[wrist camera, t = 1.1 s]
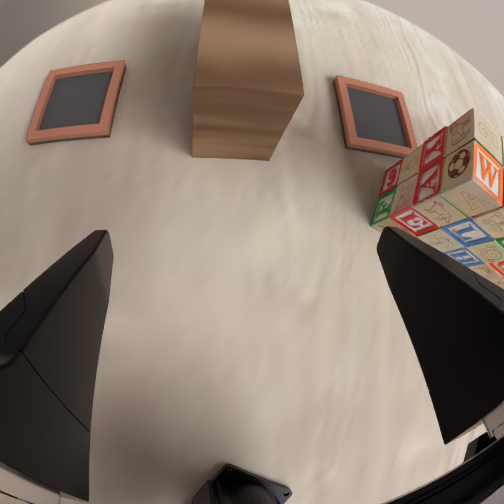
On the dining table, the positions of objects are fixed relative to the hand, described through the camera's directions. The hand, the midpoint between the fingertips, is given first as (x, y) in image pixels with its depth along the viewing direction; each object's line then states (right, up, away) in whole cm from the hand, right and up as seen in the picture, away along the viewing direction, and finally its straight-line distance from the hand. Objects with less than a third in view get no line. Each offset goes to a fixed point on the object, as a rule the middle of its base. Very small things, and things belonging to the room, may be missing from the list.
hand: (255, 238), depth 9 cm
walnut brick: (-2, +14, +15) cm, 21 cm away
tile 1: (-16, +13, +12) cm, 24 cm away
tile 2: (+12, +13, +17) cm, 25 cm away
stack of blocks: (+20, 0, +17) cm, 27 cm away
